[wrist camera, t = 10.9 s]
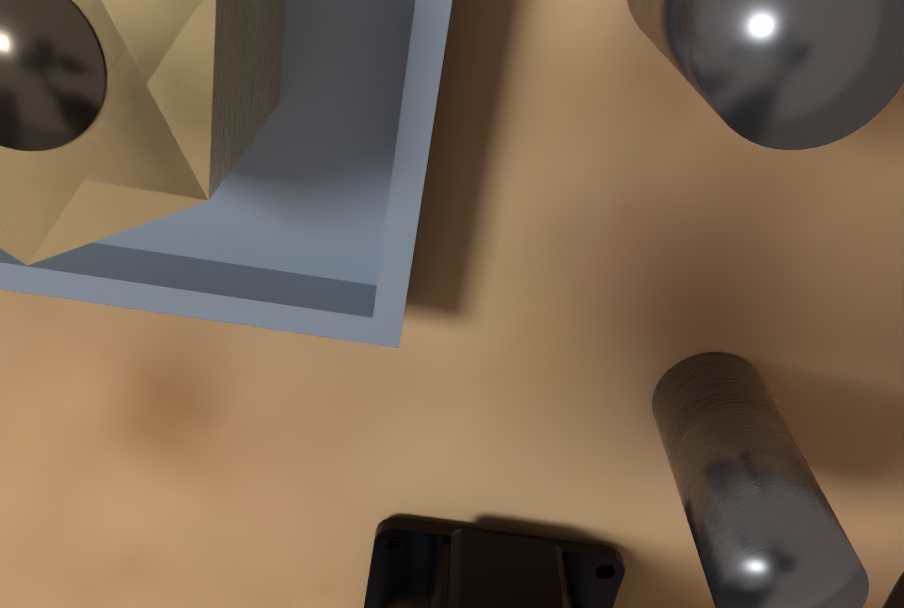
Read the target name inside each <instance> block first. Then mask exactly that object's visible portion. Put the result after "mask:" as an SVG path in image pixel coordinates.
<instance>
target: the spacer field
mask: <svg viewBox="0 0 904 608" xmlns="http://www.w3.org/2000/svg"><path fill="white" fill-rule="evenodd" d="M627 2H628V6H629V9H630V12H631V14H632V16H633V18H634V20H635V22H636V23H637V25H638V26H639V28H640V29H641V30H642V31H643V32H644V33H645V34H646V36H647V37H648V38H649V39H650V40H651V41H652V42H653V43H654V44H655V45H656V47H657V48H658V49H659V50H660V51H661V52H662V53H663V54H664V55H665V56H666V58H667V59H668V60H669V61H670V62H671V63H672V64H673V65H674V66H675V68H676V69H677V70H678V71H679V72H680V73H681V74H682V75H683V76H684V77H685V79H686V80H687V81H688V82H689V83H690V84H691V85H692V86H693V87H694V88H695V90H696V91H697V92H698V93H699V94H700V95H701V96H702V97H703V98H704V99H705V101H706V102H707V103H708V104H709V105H710V106H711V107H712V108H713V109H714V110H715V112H716V113H717V114H718V115H719V116H720V117H721V118H722V119H723V120H724V121H725V122H726V124H727V125H728V126H729V127H730V128H731V129H733V130H734V131H735V132H737V133H738V134H739V135H740V136H742V137H744V138H746V139H748V140H749V141H751V142H754V143H756V144H759V145H761V146H765V147H769V148H774V149H782V150H802V149H808V148H815V147H818V146H822V145H826V144H829V143H831V142H834V141H836V140H839V139H841V138H843V137H845V136H847V135H849V134H851V133H853V132H854V131H856V130H857V129H859V128H860V127H862V126H863V125H865V124H866V123H867V122H869V121H870V120H871V119H872V118H873V117H875V116H876V115H877V114H878V113H879V112H880V111H881V110H882V109H883V108H884V107H885V106H886V105H887V104H888V103H889V101H890V100H891V99H892V98H893V96H894V95H895V94H896V92H897V91H898V89H899V88H900V86H901V85H902V83H903V81H904V0H627ZM652 408H653V413H654V417H655V420H656V423H657V426H658V429H659V432H660V436H661V439H662V442H663V445H664V448H665V451H666V454H667V457H668V461H669V464H670V467H671V470H672V473H673V476H674V479H675V482H676V486H677V489H678V492H679V495H680V498H681V501H682V504H683V507H684V511H685V514H686V517H687V520H688V523H689V526H690V529H691V532H692V536H693V539H694V542H695V545H696V548H697V551H698V554H699V557H700V561H701V564H702V567H703V570H704V573H705V576H706V579H707V582H708V586H709V589H710V592H711V595H712V598H713V601H714V604H715V607H716V608H862V607H863V606H864V603H865V601H866V599H867V595H868V589H869V583H868V577H867V574H866V571H865V569H864V567H863V566H862V564H861V562H860V560H859V558H858V556H857V554H856V553H855V551H854V549H853V547H852V545H851V543H850V542H849V540H848V538H847V536H846V534H845V532H844V530H843V529H842V527H841V525H840V523H839V521H838V519H837V518H836V516H835V514H834V512H833V510H832V508H831V506H830V505H829V503H828V501H827V499H826V497H825V495H824V494H823V492H822V490H821V488H820V486H819V484H818V482H817V481H816V479H815V477H814V475H813V473H812V471H811V470H810V468H809V466H808V464H807V462H806V460H805V458H804V457H803V455H802V453H801V451H800V449H799V447H798V446H797V444H796V442H795V440H794V438H793V436H792V434H791V433H790V431H789V429H788V427H787V425H786V423H785V422H784V420H783V418H782V416H781V414H780V412H779V410H778V409H777V407H776V405H775V403H774V401H773V399H772V398H771V396H770V394H769V392H768V390H767V388H766V386H765V385H764V383H763V381H762V379H761V377H760V375H759V374H758V372H757V371H756V369H755V368H754V367H753V366H752V365H751V364H749V363H748V362H747V361H745V360H743V359H741V358H739V357H737V356H734V355H730V354H726V353H705V354H699V355H695V356H692V357H690V358H687V359H685V360H683V361H681V362H679V363H678V364H676V365H675V366H673V367H672V368H671V369H669V370H668V371H667V372H666V373H665V374H664V376H663V377H662V378H661V379H660V381H659V383H658V384H657V386H656V389H655V391H654V394H653V400H652Z"/></svg>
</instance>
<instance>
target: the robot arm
mask: <svg viewBox="0 0 904 608" xmlns="http://www.w3.org/2000/svg"><path fill="white" fill-rule="evenodd" d="M390 536H397V537H400V538H401V539H397V540H393V539H391V538H389V537H390ZM607 564H608V565H609V566H607V567H599V566H601V565H607ZM624 571H625V568H624V563H623V558H622V556H621V554H620V552H619V551H618V550H616V549H615V548H612V547H609V546H602V545H595V544H587V543H580V542H573V541H565V540H558V539H551V538H543V537H536V536H528V535H521V534H514V533H506V532H499V531H492V530H484V529H477V528H469V527H462V526H455V525H447V524H440V523H433V522H425V521H418V520H410V519H403V518H388V519H385V520H383V521H382V522H381V523H379V524H378V526H377V529H376V533H375V540H374V546H373V552H372V559H371V565H370V571H369V578H368V584H367V590H366V597H365V603H364V608H612V607H613V605H614V602H615V599H616V596H617V593H618V590H619V588H620V585H621V582H622V579H623V576H624ZM882 608H904V572H903V573H902V575H901V576H900V577H899V579H898V581H897V583H896V584H895V586H894V588H893V590H892V591H891V593H890V595H889V597H888V599H887V600H886V602H885V604H884V606H883V607H882Z"/></svg>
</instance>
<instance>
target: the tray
mask: <svg viewBox="0 0 904 608" xmlns="http://www.w3.org/2000/svg"><path fill="white" fill-rule="evenodd" d="M451 6H452V0H286V13H285V26H284V40H283V53H282V66H281V80H280V93H279V105H278V106H277V107H276V109H275V110H274V111H273V113H272V114H271V116H270V117H269V118H268V120H267V121H266V122H265V124H264V125H263V127H262V128H261V129H260V131H259V132H258V133H257V135H256V136H255V137H254V139H253V140H252V142H251V143H250V144H249V146H248V147H247V148H246V150H245V151H244V153H243V154H242V155H241V157H240V158H239V159H238V161H237V162H236V164H235V165H234V166H233V168H232V169H231V170H230V172H229V173H228V175H227V176H226V177H225V179H224V180H223V181H222V183H221V184H220V185H219V187H218V188H217V190H216V191H215V192H214V194H213V195H212V196H211V198H210V199H209V201H206V202H203V203H200V204H197V205H195V206H192V207H189V208H186V209H184V210H181V211H178V212H175V213H172V214H170V215H167V216H164V217H161V218H159V219H156V220H153V221H150V222H147V223H145V224H142V225H139V226H136V227H133V228H131V229H128V230H125V231H122V232H120V233H117V234H114V235H111V236H108V237H106V238H103V239H100V240H97V241H94V242H92V243H89V244H86V245H83V246H81V247H78V248H75V249H72V250H69V251H67V252H64V253H61V254H58V255H56V256H53V257H50V258H47V259H44V260H42V261H39V262H36V263H33V264H30V265H26V264H24V263H23V262H21V261H20V260H18V259H16V258H15V257H13V256H12V255H10V254H9V253H7V252H5V251H4V250H2V249H1V248H0V289H3V290H10V291H17V292H23V293H30V294H37V295H44V296H51V297H57V298H64V299H71V300H78V301H84V302H91V303H98V304H105V305H112V306H118V307H125V308H132V309H139V310H145V311H152V312H159V313H166V314H173V315H179V316H186V317H193V318H200V319H206V320H213V321H220V322H227V323H234V324H240V325H247V326H254V327H261V328H268V329H274V330H281V331H288V332H295V333H301V334H308V335H315V336H322V337H329V338H335V339H342V340H349V341H356V342H362V343H369V344H376V345H383V346H390V347H396V348H399V343H400V336H401V330H402V323H403V317H404V310H405V304H406V297H407V291H408V284H409V278H410V271H411V265H412V258H413V252H414V245H415V239H416V233H417V226H418V220H419V213H420V207H421V200H422V194H423V187H424V181H425V174H426V168H427V161H428V155H429V148H430V142H431V135H432V129H433V122H434V116H435V109H436V103H437V96H438V90H439V83H440V77H441V70H442V64H443V58H444V51H445V45H446V38H447V32H448V25H449V19H450V12H451Z"/></svg>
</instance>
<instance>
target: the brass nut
mask: <svg viewBox="0 0 904 608" xmlns="http://www.w3.org/2000/svg"><path fill="white" fill-rule="evenodd" d="M285 13H286V0H0V248H1V249H2V250H4V251H5V252H7V253H9V254H10V255H12V256H13V257H15V258H16V259H18V260H20V261H21V262H23V263H24V264H26V265H30V264H33V263H36V262H39V261H42V260H44V259H47V258H50V257H53V256H56V255H58V254H61V253H64V252H67V251H69V250H72V249H75V248H78V247H81V246H83V245H86V244H89V243H92V242H94V241H97V240H100V239H103V238H106V237H108V236H111V235H114V234H117V233H120V232H122V231H125V230H128V229H131V228H133V227H136V226H139V225H142V224H145V223H147V222H150V221H153V220H156V219H159V218H161V217H164V216H167V215H170V214H172V213H175V212H178V211H181V210H184V209H186V208H189V207H192V206H195V205H197V204H200V203H203V202H206V201H209V199H210V198H211V196H212V195H213V194H214V192H215V191H216V190H217V188H218V187H219V185H220V184H221V183H222V181H223V180H224V179H225V177H226V176H227V175H228V173H229V172H230V170H231V169H232V168H233V166H234V165H235V164H236V162H237V161H238V159H239V158H240V157H241V155H242V154H243V153H244V151H245V150H246V148H247V147H248V146H249V144H250V143H251V142H252V140H253V139H254V137H255V136H256V135H257V133H258V132H259V131H260V129H261V128H262V127H263V125H264V124H265V122H266V121H267V120H268V118H269V117H270V116H271V114H272V113H273V111H274V110H275V109H276V107H277V106H278V105H279V93H280V80H281V66H282V53H283V40H284V26H285Z"/></svg>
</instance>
